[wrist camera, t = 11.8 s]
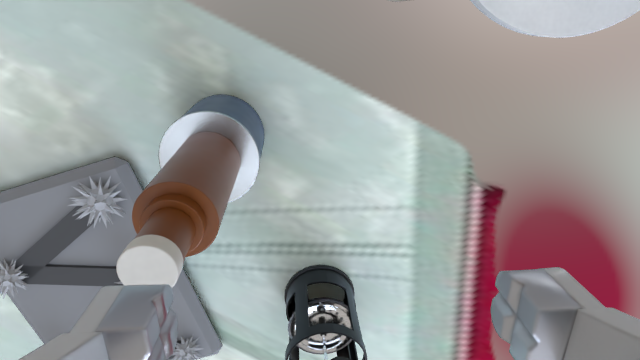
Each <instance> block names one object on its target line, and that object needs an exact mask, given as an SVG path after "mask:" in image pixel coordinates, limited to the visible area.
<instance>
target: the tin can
mask: <svg viewBox="0 0 640 360" xmlns="http://www.w3.org/2000/svg"><path fill="white" fill-rule="evenodd" d="M200 132H214V133H218V134H220V135H223V136H224V137H226V138H227V139H229V140H230V141H231V142H232V143H233V144H234V146H235V147H236V149H237V151H238V153H239V156H240V168H239V172H238V175H237V178H236V181H235V184H234V186H233V189H232V192H231V195H230V198H229V201H228V203H229V202H232V201H234V200H236V199H238V198H240V197H241V196H243V195H244V194H245V193H246V192H247V191H248V190H249V189H250V188H251V187H252V185H253V184H254V182H255V180H256V178H257V175H258V171H259V165H260V157H261V153H262V148H263V144H264V128H263V124H262V121H261V119H260V117H259V115H258V114H257V112H256V111H255V110H254V109H253V108H252V107H251V106H250V105H249V104H248V103H246V102H245V101H243V100H241V99H239V98H237V97H234V96H230V95H213V96H209V97H206V98H204V99H202V100H200V101H199V102H197V103H196V104H195V105H194V106H193V107H192V108H191V109H190V110H188V111H187V112H186V113H185V114H184V115H183V116H182V117H181V118H179V119H178V120H176V121H175V122H174V123H173V124H172V125H171V126H170V127H169V128H168V129H167V130H166V132H165V134H164V135H163V137H162V140H161V143H160V147H159V163H160V167H161V169H162V168H163V167H164V165H165V164H166V163H167V162H168V161H169V160H170V158H171V157H172V156H173V155H174V154H175V152H176V151H177V150H178V149H179V148H180V147H181V145H182V144H183V143H184V142H185V141H186V140H187V139H188V138H189V137H191V136H192V135H194V134H197V133H200Z"/></svg>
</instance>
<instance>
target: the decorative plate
mask: <svg viewBox="0 0 640 360" xmlns="http://www.w3.org/2000/svg"><path fill="white" fill-rule="evenodd" d="M142 191H143V189H142V188H141V186H140V184H139V182H138V180H137V178H136V176H135V174H134V172H133V170H132V168H131V166H130V164H129V162H128V161H125V160H123V159H120V158H118V157H112V158H109V159H105V160H102V161H99V162H96V163H92V164H89V165H86V166H83V167H79V168H76V169H73V170H70V171H67V172H63V173H60V174H57V175H54V176H50V177H47V178H44V179H41V180H37V181H34V182H31V183H28V184H24V185H21V186H18V187H15V188H12V189H8V190H5V191H2V192H0V293H1V292H2V294H3V293H4V296H5V294H6V293H7V294H8V296H9V297H10V298H11V300H12V301H13V303H14V304H15V305H16V307H17V308H18V309H19V311H20V312H21V313H22V315H23V316H24V317H25V319H26V320H27V321H28V323H29V324H30V325H31V327H32V328H33V329H34V331H35V332H36V334H37V335H38V336H39V338H40V339H41V340H42V342H43V343H44V344H46V343H47V342H49V341H51V340H52V339H54V338H56V337H57V336H59V335H61V334H64V333H70V331H71V330H72V328H73V327H74V326H75V324H76V323H77V321H78V320H79V319H80V317H81V316H82V314H83V313H84V312H85V310H86V309H87V307H88V306H89V305H90V303H91V302H92V300H93V299H94V297H95V296H96V295H97V293H98V292H99V290H100V289H101V288H103V287H105V286H118V285H123V283H122V282H121V281H120V279H119V277H118V275H117V270H116V265H117V261H118V258H119V257H120V255H121V254H122V252H123V251H124V249H125V248H126V247H127V245H128V244H129V243H130V242H131V241H132V240H134V239H135V237H136V236H137V233H136V231H135V229H134V226H133V222H132V210H133V206H134V203H135V201H136V199H137V198H138V196H139V195H140V194H141V193H142ZM172 292H173V297H174V300H173V302H172V305H171V307H170V308H171V309H172V310H173V311H174V312H175V313H176V314H177V321H178V335H177V342H176V346H175V349H174V353H173V355H171V356H170V357H169V358H168V359H167V360H196V359H200V358H203V357H207V356H210V355H214V354H217V353H218V352H219V350H220V349H221V347H222V343H221V341H220V339H219V337H218V335H217V334H216V332H215V330H214V328H213V326H212V324H211V322H210V320H209V318H208V316H207V314H206V312H205V310H204V308H203V306H202V304H201V302H200V300H199V298H198V297H197V295H196V293H195V291H194V289H193V287H192V285H191V283H190V281H189V279H188V277H187V275H186V273H185V271H184V269H183V268H182V271H181V273H180V275H179V278H178V280H177V282H176V284H175V285H174V286H173V288H172ZM2 294H1V296H2ZM4 296H3V299H4ZM200 360H201V359H200Z"/></svg>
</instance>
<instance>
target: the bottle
mask: <svg viewBox="0 0 640 360" xmlns="http://www.w3.org/2000/svg"><path fill="white" fill-rule="evenodd" d="M239 168H240V156H239V153H238V151H237V149H236V147H235V146H234V144H233V143H232V142H231V141H230V140H229V139H227V138H226V137H224V136H223V135H220V134H218V133H214V132H200V133H197V134H194V135H192V136H191V137H189V138H188V139H187V140H186V141H185V142H184V143H183V144H182V145H181V147H180V148H179V149H178V150H177V151H176V152H175V154H174V155H173V156H172V157H171V158H170V160H169V161H168V162H167V163H166V164H165V165H164V167H163V168H162V169H161V170H160V171H159V173H158V174H157V175H156V176H155V177H154V178H153V180H152V181H151V182H150V183H149V184H148V186H147V187H146V188H145V189H144V190H143V191H142V193H141V194H140V195H139V196H138V198H137V199H136V201H135V203H134V206H133V210H132V222H133V226H134V229H135V231H136V233H137V236H136V237H135V239H134V240H132V241H131V242H130V243H129V244H128V245H127V247H126V248H125V249H124V251H123V252H122V254H121V255H120V257H119V258H118V261H117V265H116V270H117V275H118V277H119V279H120V281H121V282H122V283H123V285H125V286H127V285H161V284H169V285H170V286H171V287H172V288H173V286H174V285H175V284H176V282H177V280H178V278H179V275H180V273H181V271H182V268H183V262H184V259H185V257H188V256H192V255H195V254H198V253H200V252H202V251H203V250H205V249H206V248H208V247H209V246H210V245H211V244H212V242H213V241H214V239H215V238H216V236H217V233H218V230H219V227H220V224H221V222H222V219H223V216H224V213H225V210H226V207H227V204H228V201H229V198H230V195H231V192H232V189H233V186H234V184H235V181H236V178H237V175H238V172H239Z"/></svg>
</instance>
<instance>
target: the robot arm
mask: <svg viewBox="0 0 640 360" xmlns="http://www.w3.org/2000/svg"><path fill="white" fill-rule="evenodd" d="M495 286H496V287H497V289H498V290H499V293H498V294H497V295H496V296H495V297H494V298H493V299H492V305H491V317H492V323H493V325H494V328H495V330H496V332H497V333H498V335H499V337H500V338H502V339H503V340H505V341H506V342H508V343H509V344H511V345H510V350H509V352H510V354H511V355H512V357H513V358H514V360H640V320H639V319H637V318H635V317H632V316H630V315H628V314H626V313H623V312H621V311H619V310H616V309H614V308H606V307H604V306H603V305H602V304H601V303H600V302H599V301H598V300H597V299H596V298H595V297H594V296H593V295H591V294H590V293H589V292H588V291H587V290H586V289H585V288H584V287H583V286H582V285H581V284H579V282H577V281H576V280H575V279H574V278H573V277H572V276H571V275H570V274H569V273H568V272H567V271H566V270H564V269H562V268H559V267H556V268H555V267H554V268H541V269H534V270H533V269H532V270H513V271H500V272H499V274H498V275H497V278H496V283H495ZM173 300H174V297H173V292H172V287H171V286H170V285H169V284H161V285H127V286H125V285H118V286H105V287H103V288H101V289H100V290H99V292H98V293H97V295H96V296H95V297H94V299H93V300H92V302H91V303H90V305H89V306H88V307H87V309H86V310H85V312H84V313H83V314H82V316H81V317H80V319H79V320H78V321H77V323H76V324H75V326H74V327H73V328H72V330H71V331H70V333H64V334H61V335H59V336H57V337H56V338H54V339H52V340H51V341H49V342H47V343H46V344H44V345H42V346H41V347H39V348H37V349H36V350H34V351H32V352H31V353H29V354H27V355H25V356H24V357H22V358H20V359H19V360H167V359H168V358H169V357H170V356H171V355H173V353H174V349H175V346H176V342H177V335H178V321H177V314H176V313H175V312H174V311H173V310H172V309H171V308H170V307H171V305H172V302H173Z"/></svg>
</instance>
